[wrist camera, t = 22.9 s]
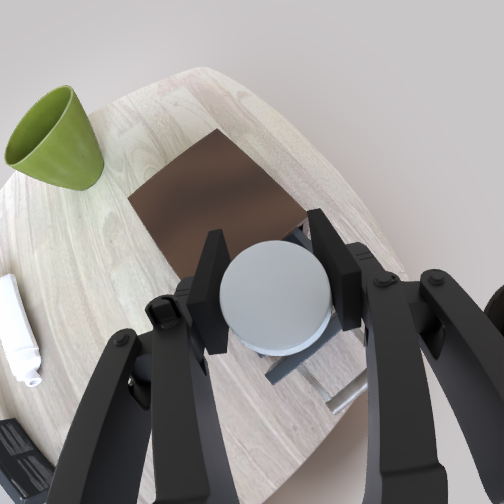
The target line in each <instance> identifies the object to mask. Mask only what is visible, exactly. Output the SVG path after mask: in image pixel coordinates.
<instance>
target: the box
mask: <svg viewBox="0 0 504 504" xmlns="http://www.w3.org/2000/svg"><path fill="white" fill-rule="evenodd" d="M54 472H55V469H54V468H53V467H52V466H51V464H50V463H49V462H48V461H47V460H46V459H45V458H44V456H43V455H42V454H41V453H40V452H39V450H38V449H37V448H36V447H35V445H34V444H33V443H32V441H31V440H30V439H29V438H28V436H27V435H26V434H25V432H24V431H23V429H22V428H21V427H20V425H19V424H18V422H17V420H16V419H15V418H12V419H7V420H0V484H1V486H2V487H3V488H4V490H5V491H6V492H7V494H8V495H9V496H10V498H11V499H12V500H13V501H14V502H15V504H44V503H46V499H47V496H48V492H49V489H50V485H51V482H52V479H53V475H54Z"/></svg>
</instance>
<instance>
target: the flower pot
mask: <svg viewBox="0 0 504 504" xmlns="http://www.w3.org/2000/svg"><path fill="white" fill-rule="evenodd" d="M5 162H6V164H7V165H8V166H10V167H12V168H14V169H16V170H18V171H20V172H22V173H24V174H26V175H28V176H30V177H32V178H35V179H37V180H40V181H43V182H45V183H48V184H52V185H55V186H59V187H63V188H68V189H73V190H80V191H81V190H85V189H87V188H89V187H91V186H92V185H93V184H94V183H95V182H96V181H97V180H98V178H99V177H100V175H101V173H102V170H103V166H104V162H103V158H102V155H101V151H100V148H99V145H98V142H97V139H96V137H95V134H94V132H93V129H92V127H91V124H90V122H89V120H88V117H87V115H86V113H85V111H84V109H83V107H82V105H81V103H80V101H79V99H78V97H77V95H76V94H75V92H74V90H73V88H72V87H71V86H67V85H65V86H61V87H58V88H56V89H54V90H52V91H51V92H49V93H47V94H46V95H45V96H43V97H42V98H41V99H40V100H39V101H38V102H36V103H35V105H34V106H32V108H30V110H29V111H28V112H27V113H26V114H25V115H24V117H23V118H22V119H21V121H20V122H19V124H18V125H17V127H16V128H15V130H14V132H13V133H12V135H11V137H10V139H9V142H8V144H7V147H6V151H5Z"/></svg>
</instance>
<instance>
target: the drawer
mask: <svg viewBox="0 0 504 504" xmlns="http://www.w3.org/2000/svg"><path fill="white" fill-rule="evenodd" d="M283 241H286V242H291V243H294V244H297V245H299V246H301V247H303V248H305V249H306V250H308V251H309V252H311V253H312V254H313V249H312V242H311V241H310V240H309V238H308V237H307V236H306V235H305V234H304V233H303V232H302V231H301V230H300V229H299V228H297V229H296V230H295V231H293V232H292V233H291V234H290V235H289V236H287V237H286V238H285V239H284V240H283ZM341 329H342V326H341V324H340V321H339V318H338V316H337V313H336V312H335V313H334V314H333V315H331V317H330V320H329V322H328V324H327V327H326V328H325V330H324V331H323V333H322V334H321V336H320V337H319V338H318V339H317V340H316V341H315V342H314V343H313V344H311V345H310V346H309V347H307V348H306V349H304V350H302V351H300V352H297V353H294V354H291V355H286V356H283V357H282V358H280V359H279V360H278V361H277V362H275V363H274V364H273V365H272V366H271V367H270V368H269V370H268V371H267V373H266V374H265V377H266V378H267V379H268V380H269V381H270V382H271V384H272V385H275V384H276V383H277V382H279V381H280V380H281V379H283V378H284V377H285V376H286V375H288V374H289V373H290V372H292V371H293V370H294V369H295V368H297V369H298V370H299V371H300V372H301V373H302V375H303V376H304V377H305V378H306V379H307V380H308V381H309V383H310V384H311V385H312V386H313V387H314V388H315V389H316V391H317V392H318V393H319V394H320V395H321V396H322V397H323V399H324V400H325V401H326V403H325V404H326V405H327V407H328V408H329V409H330V410H331V411H332V412H333V413H334V414H335V415H336V414H338V413H339V412H340V411H341V410H343V409H344V408H345V407H346V406H348V405H349V404H350V403H351V402H352V401H354V400H355V399H356V398H357V397H358V396H359V395H361V394H362V393H363V392H364V391H365V390H366V389H367V388H368V380H367V368H366V369H365V370H364V371H363V372H361V373H360V374H359V375H358V376H357V377H356V378H355V379H354V380H352V381H351V382H350V383H349V384H348V385H347V386H345V387H344V388H343V389H342V390H341V391H340V392H338V393H337V394H336V395H335V396H333V397H331V396H330V395H329V394H328V393H327V392H326V390H325V389H324V388H323V387H322V386H321V385H320V384H319V382H318V381H317V380H316V379H315V378H314V377H313V376H312V374H311V373H310V372H309V371H308V370H307V369H306V368H305V366H304V365H303V364H302V363H303V362H304V361H305V360H306V359H308V358H309V357H310V356H311V355H313V354H314V353H315V352H316V351H317V350H318V349H320V348H321V347H322V346H323V345H324V344H325V343H327V342H328V341H329V340H330V339H331V338H332V337H333V336H335V335H336V334H337V333H338V332H339V331H340V330H341ZM351 331H352V332H353V333H354V334H355V335H356V337H357V338H358V339H359V340H360V341H361V342H362V344H363V345H364V333H363V332H362V331H361V330H360V329H359V328H356V329H352V330H351ZM365 347H366V346H365ZM256 353H257V354H258V355H259V356H260V357H261V358H263V357H264V356H265V354H260V353H258V352H256Z"/></svg>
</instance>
